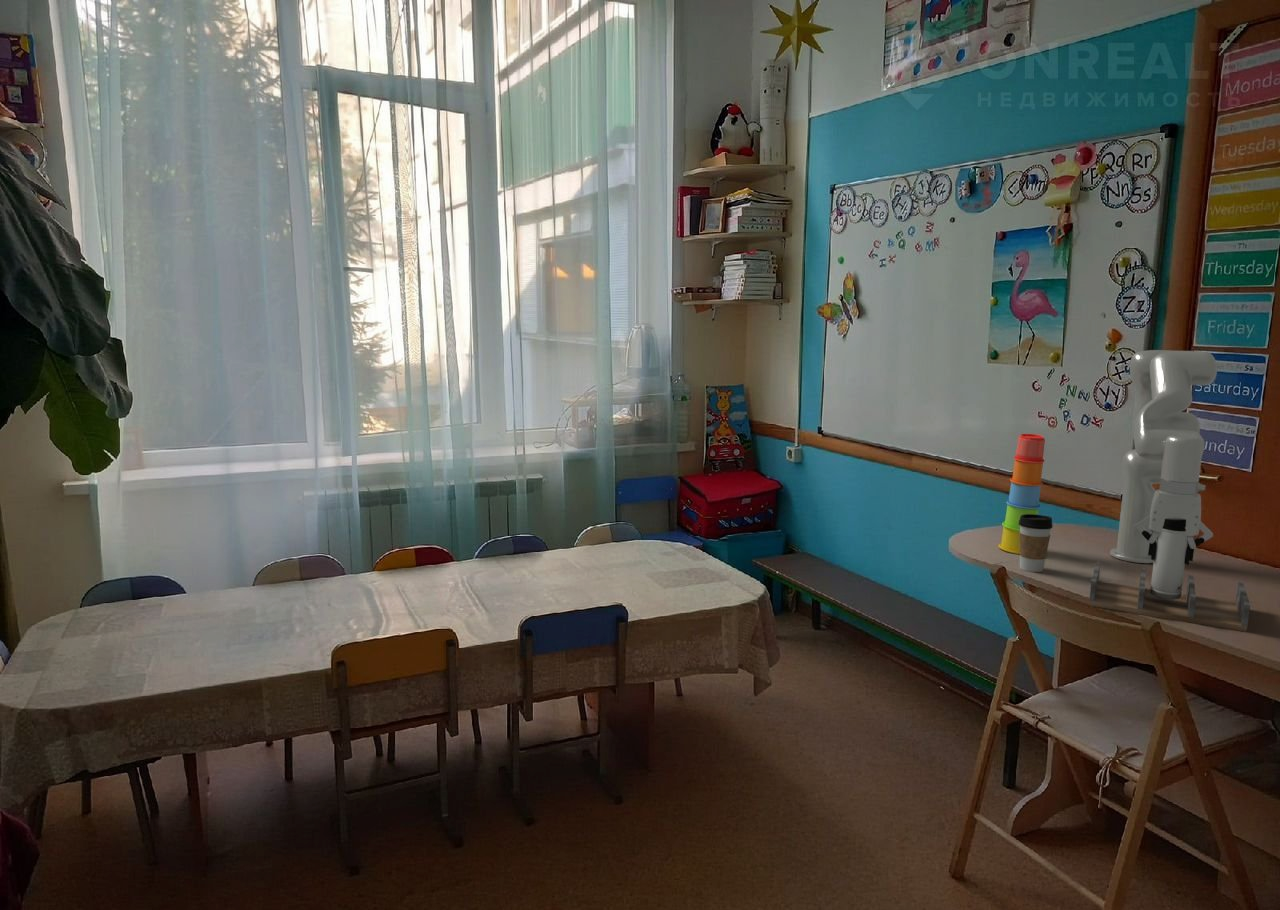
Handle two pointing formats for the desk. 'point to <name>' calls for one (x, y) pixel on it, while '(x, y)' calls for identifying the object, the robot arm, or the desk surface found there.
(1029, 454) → the stacking cups
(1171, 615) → the drying rack
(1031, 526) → the coffee cup
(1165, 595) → the travel mug
